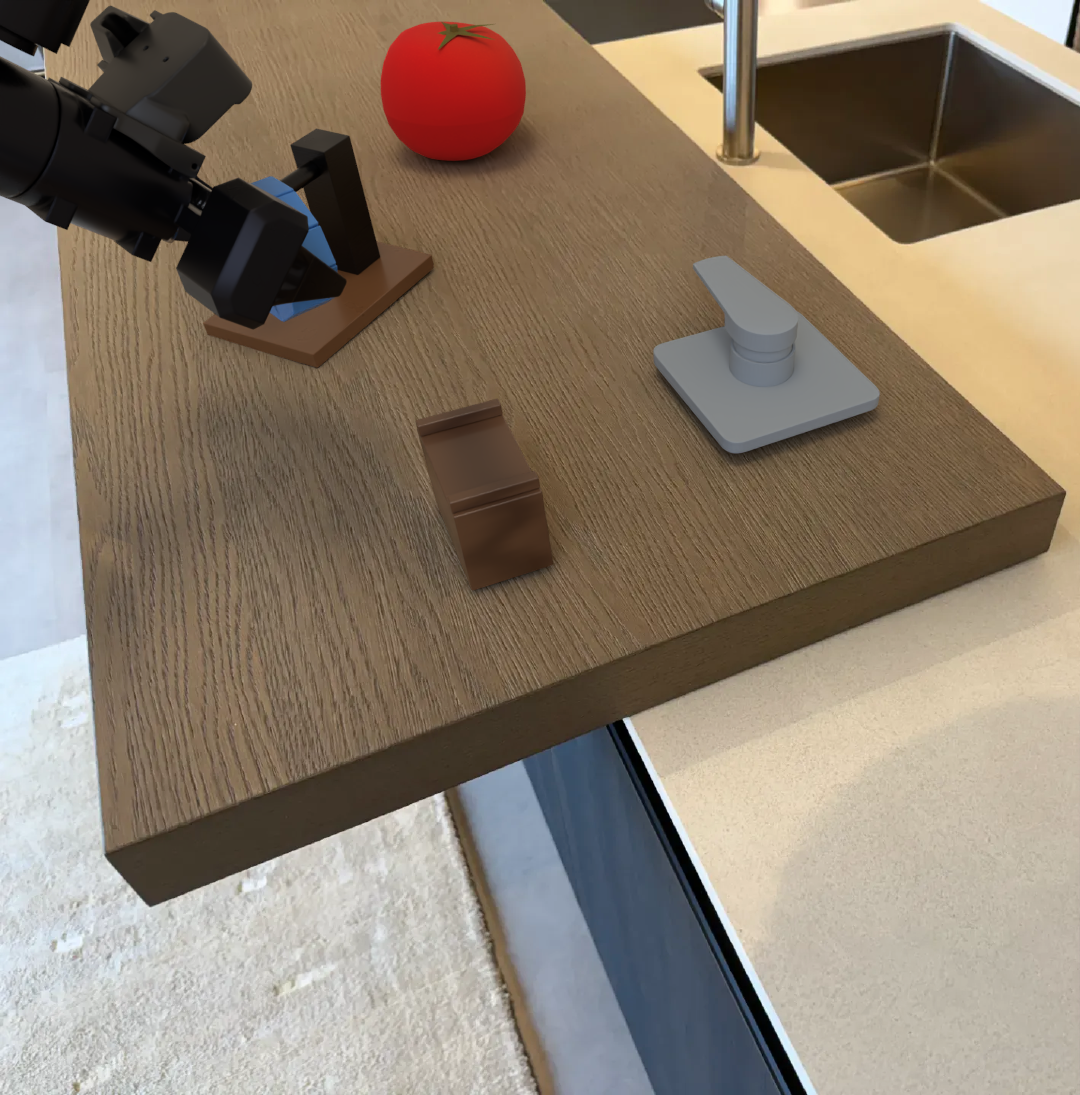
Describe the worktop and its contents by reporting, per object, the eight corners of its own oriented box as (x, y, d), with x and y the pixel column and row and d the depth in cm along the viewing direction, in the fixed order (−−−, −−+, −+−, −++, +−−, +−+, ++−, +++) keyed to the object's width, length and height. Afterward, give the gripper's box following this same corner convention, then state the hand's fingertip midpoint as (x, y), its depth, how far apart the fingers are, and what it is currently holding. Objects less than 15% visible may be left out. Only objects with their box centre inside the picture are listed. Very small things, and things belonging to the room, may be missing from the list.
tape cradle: (471, 591, 60) (450, 507, 55) (435, 501, 65) (413, 416, 60) (554, 565, 62) (540, 480, 57) (512, 478, 67) (496, 394, 62)
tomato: (369, 140, 100) (342, 14, 92) (497, 109, 106) (482, -12, 98) (425, 192, 93) (401, 61, 85) (558, 155, 99) (548, 30, 91)
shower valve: (781, 237, 78) (896, 341, 69) (776, 300, 82) (884, 406, 73) (631, 274, 73) (733, 390, 64) (633, 339, 77) (729, 457, 68)
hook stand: (317, 368, 75) (270, 226, 67) (207, 336, 77) (149, 196, 69) (434, 267, 85) (405, 133, 76) (333, 242, 87) (295, 109, 79)
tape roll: (307, 340, 59) (269, 224, 54) (239, 290, 63) (198, 177, 58) (352, 319, 61) (320, 204, 56) (283, 272, 64) (247, 160, 59)
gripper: (201, 27, 42) (465, 191, 56) (8, -72, 50) (278, 91, 64) (89, 274, 43) (374, 375, 57) (-80, 137, 52) (203, 253, 66)
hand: (305, 263), depth 61 cm, fingers closed on tape roll, 7 cm apart
